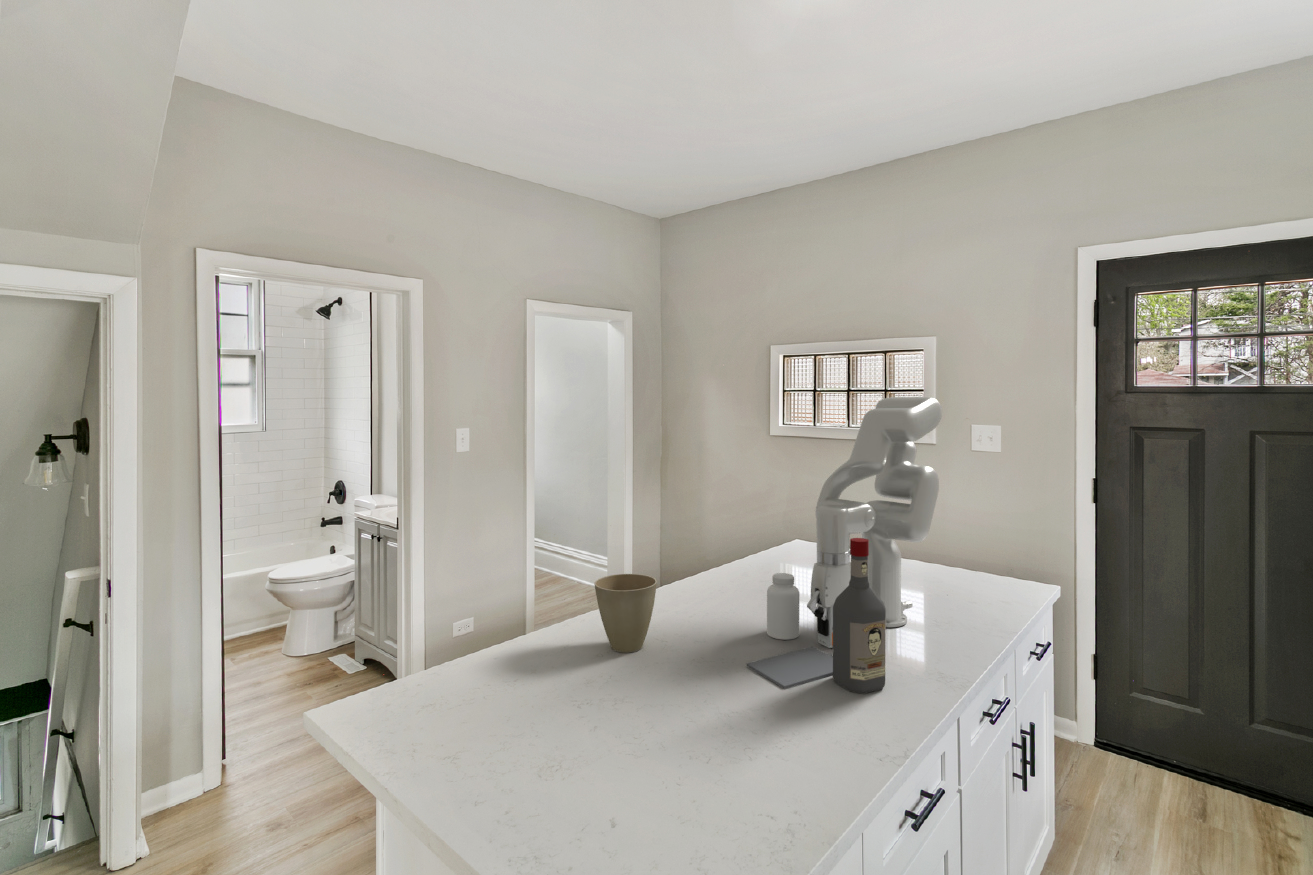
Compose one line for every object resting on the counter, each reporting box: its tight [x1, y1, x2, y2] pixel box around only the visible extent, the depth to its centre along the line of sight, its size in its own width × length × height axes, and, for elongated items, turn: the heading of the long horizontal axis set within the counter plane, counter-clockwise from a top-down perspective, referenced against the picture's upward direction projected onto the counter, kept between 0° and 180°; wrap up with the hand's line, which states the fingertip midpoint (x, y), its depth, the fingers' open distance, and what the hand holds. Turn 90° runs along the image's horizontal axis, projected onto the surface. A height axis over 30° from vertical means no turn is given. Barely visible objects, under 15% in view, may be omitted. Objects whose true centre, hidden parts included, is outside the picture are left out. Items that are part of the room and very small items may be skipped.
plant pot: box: [594, 573, 658, 653], centre depth 153 cm, size 15×15×16 cm
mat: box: [746, 646, 833, 690], centre depth 140 cm, size 19×13×1 cm
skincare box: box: [817, 602, 834, 649], centre depth 153 cm, size 6×4×12 cm
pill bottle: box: [766, 572, 800, 641], centre depth 159 cm, size 8×8×15 cm
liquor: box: [832, 537, 887, 694], centre depth 131 cm, size 9×9×30 cm
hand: (833, 630), depth 153 cm, fingers closed on skincare box, 6 cm apart
